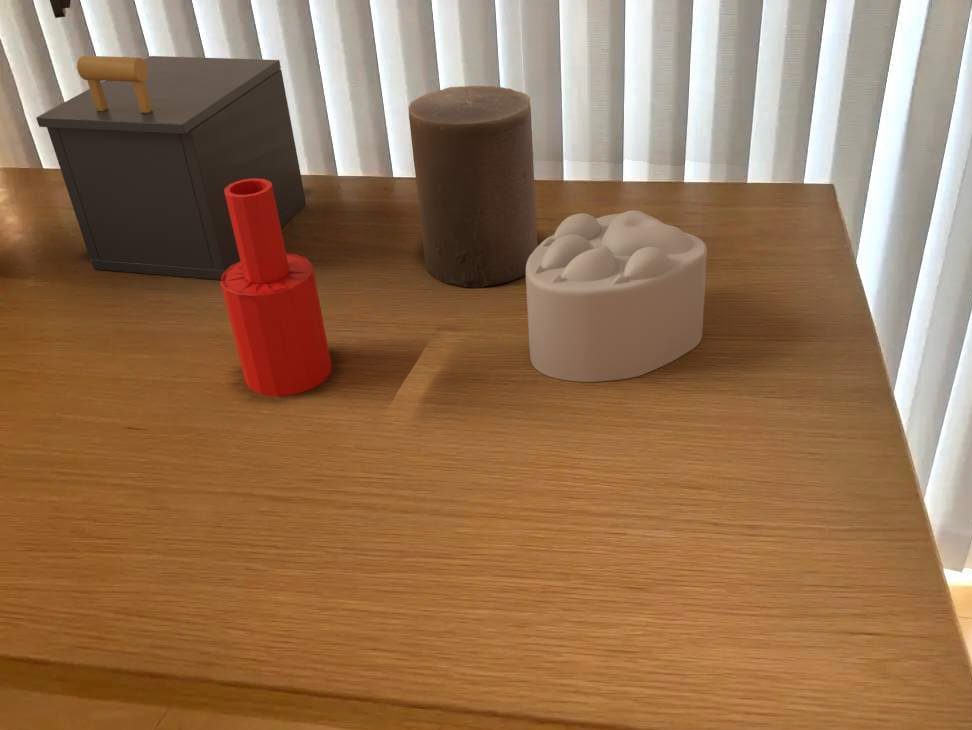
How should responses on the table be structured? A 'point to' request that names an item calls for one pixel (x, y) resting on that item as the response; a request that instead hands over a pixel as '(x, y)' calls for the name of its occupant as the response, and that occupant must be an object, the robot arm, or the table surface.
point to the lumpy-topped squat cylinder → (614, 297)
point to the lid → (155, 92)
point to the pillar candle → (475, 183)
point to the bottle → (272, 299)
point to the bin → (178, 185)
